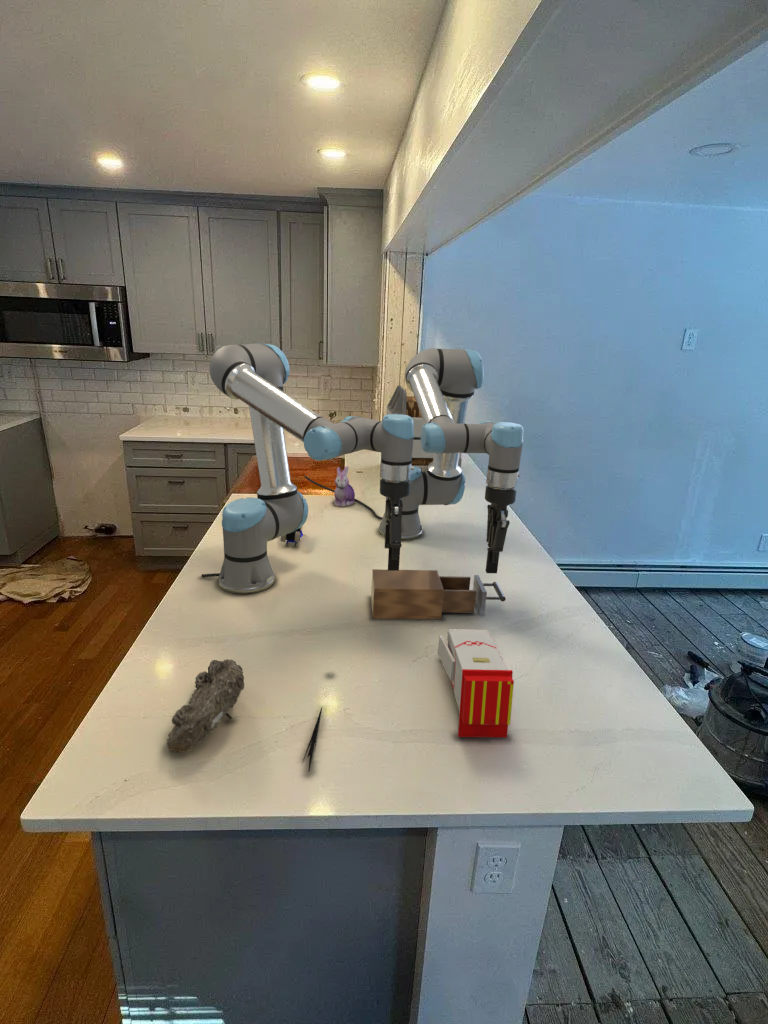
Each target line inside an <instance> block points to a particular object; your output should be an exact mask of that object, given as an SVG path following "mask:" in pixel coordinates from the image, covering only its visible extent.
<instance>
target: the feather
mask: <svg viewBox="0 0 768 1024" xmlns="http://www.w3.org/2000/svg"><path fill="white" fill-rule="evenodd" d="M329 675H330V676H331V675H332V674H331V673H330V674H329ZM322 710H323V707H321V708H320V710H319V713H318V716H317V719H316V723H315V725H314V728H313V731H312V733H311V737H310V739H309V742H308V745H307V748H306V751H305V754H304V757H303V760H302V763H301V767H302V765H303V763H304V761H305V758H308V759H309V760H308V762H307V763H308V764H307V766H308V771H310V770H311V766H312V765H311V764H312V760H313V757H315V756H314V755H315V751H316V749H315V746H317V739H318V733H319V729H320V722H321V717H322V712H323V711H322ZM313 754H314V755H313ZM306 755H307V757H306Z"/></svg>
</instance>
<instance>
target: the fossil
mask: <svg viewBox="0 0 768 1024" xmlns="http://www.w3.org/2000/svg"><path fill="white" fill-rule="evenodd" d="M243 670H244V669H243V667H242V665H240V664H237V662H236V661H235V660H234V659H232V658H231V659H227V658H226V659H224V660H223V661H222V660H217V659H212V660H211V661H210V663H209V665H208V666H207V671H201V672H199V673H198V674H197V675H196V676H195V680H194V684H195V685H194V687H195V689H194V690H193V693H192V694H191V697H190V698H189V700H188V704H184V705H182V706H181V707H180V709H177V710H176V711H175V713H174V715H173V716H172V718H171V723H172V724H173V727H172V730H171V731H170V732H168V734H167V738H166V741H167V742H166V745H167V749H168V750H169V751H173V752H174V753H176V754H178V753H182V752H188V751H189V752H192V751H193V750H195V748H196V747H197V746H199V744H200V743H201V742H203V741H204V740H205V739H206V738H207V737H208V736H209V735H210V734H211V733H212V732H214V730H215V729H217V727H218V726H219V724H220V722H221V721H222V720H223V719H224V718H225V716H226V717H227V719H229V720H233V717H232V715H230V714H229V710H230V709H231V708H234V706H235V704H236V703H237V702H238V699H239V697H240V695H241V693H242V691H243V690H245V689H244V688H245V675H244V671H243Z"/></svg>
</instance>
